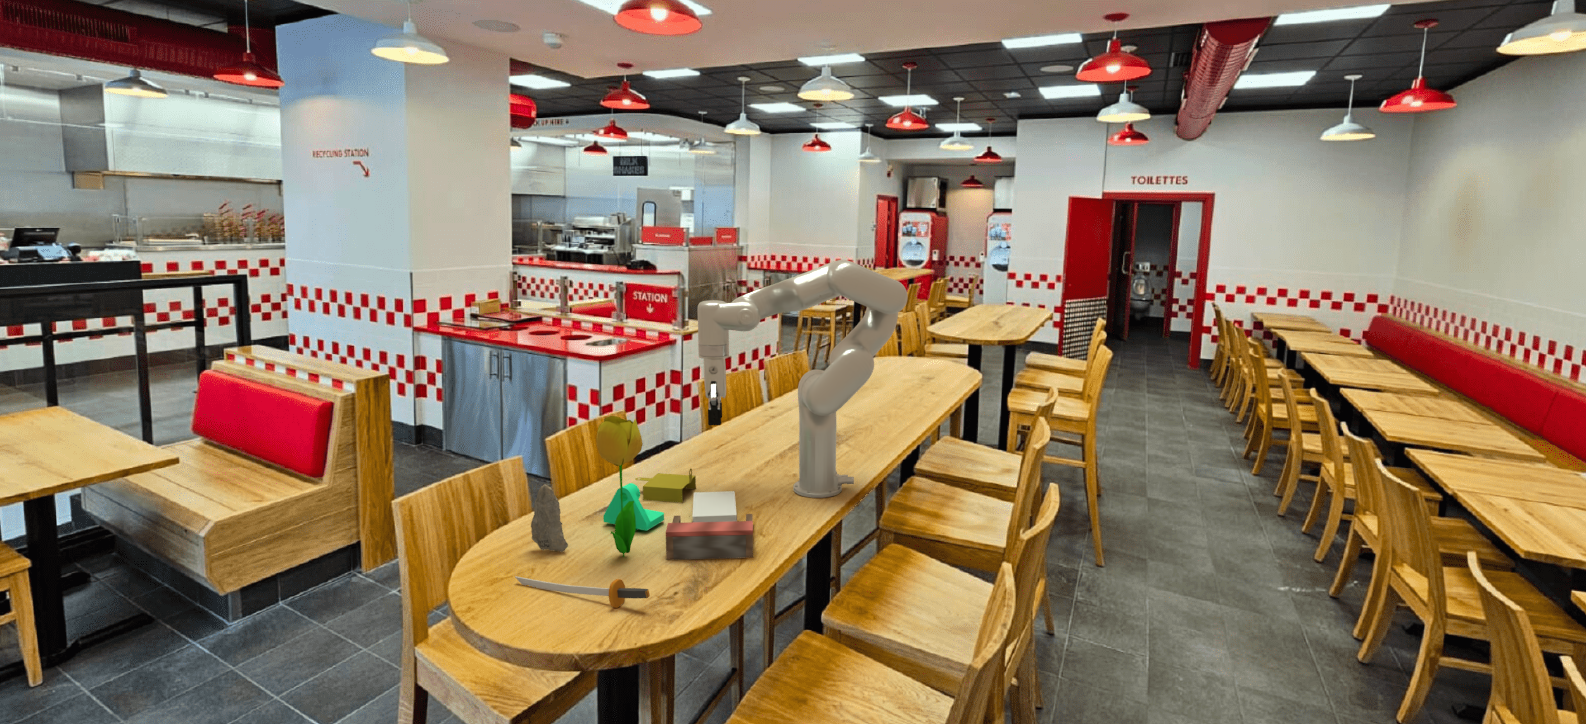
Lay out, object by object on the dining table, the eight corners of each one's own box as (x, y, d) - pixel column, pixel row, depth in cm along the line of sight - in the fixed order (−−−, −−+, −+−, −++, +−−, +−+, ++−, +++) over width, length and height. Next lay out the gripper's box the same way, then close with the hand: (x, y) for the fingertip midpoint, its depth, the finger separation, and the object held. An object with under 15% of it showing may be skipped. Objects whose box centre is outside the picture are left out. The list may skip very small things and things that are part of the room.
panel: (734, 504, 196) (734, 491, 196) (736, 529, 181) (736, 514, 180) (694, 505, 195) (693, 492, 195) (692, 531, 180) (692, 516, 179)
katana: (508, 588, 152) (506, 564, 151) (523, 579, 156) (521, 555, 155) (643, 618, 140) (642, 592, 139) (655, 607, 144) (655, 582, 143)
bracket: (646, 456, 210) (700, 459, 207) (647, 483, 212) (700, 487, 209) (622, 474, 195) (680, 478, 192) (623, 504, 197) (681, 508, 194)
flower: (623, 568, 160) (617, 425, 154) (595, 559, 164) (588, 419, 158) (652, 553, 167) (647, 415, 161) (624, 545, 171) (618, 410, 166)
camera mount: (666, 523, 184) (664, 481, 182) (646, 535, 177) (645, 491, 175) (624, 515, 189) (622, 474, 187) (603, 526, 182) (601, 483, 180)
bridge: (752, 524, 183) (752, 499, 181) (753, 557, 165) (752, 530, 164) (674, 525, 182) (673, 501, 180) (666, 559, 164) (665, 532, 163)
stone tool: (572, 549, 169) (569, 482, 166) (564, 555, 166) (560, 487, 163) (538, 545, 171) (533, 479, 168) (529, 551, 168) (525, 484, 165)
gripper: (728, 356, 187) (729, 430, 190) (729, 345, 204) (731, 412, 207) (696, 357, 186) (698, 430, 189) (700, 345, 203) (702, 413, 206)
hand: (715, 420), depth 198 cm, fingers open, 6 cm apart
